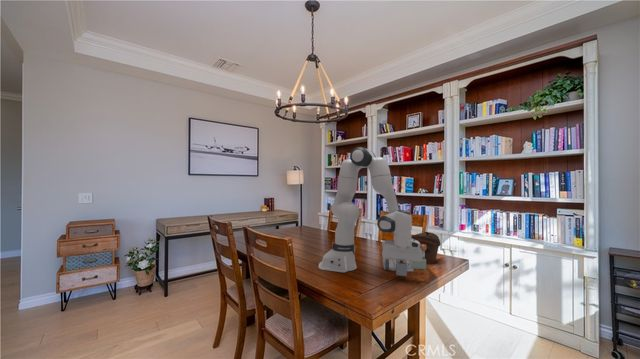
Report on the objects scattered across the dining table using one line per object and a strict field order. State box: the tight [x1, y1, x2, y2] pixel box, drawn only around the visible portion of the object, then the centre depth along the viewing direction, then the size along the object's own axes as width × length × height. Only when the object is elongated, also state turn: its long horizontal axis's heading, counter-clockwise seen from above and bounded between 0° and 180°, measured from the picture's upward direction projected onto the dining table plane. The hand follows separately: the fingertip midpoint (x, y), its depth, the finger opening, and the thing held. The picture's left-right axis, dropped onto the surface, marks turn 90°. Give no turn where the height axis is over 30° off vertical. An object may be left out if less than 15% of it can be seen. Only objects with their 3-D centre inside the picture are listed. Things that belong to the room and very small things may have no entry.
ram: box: [421, 244, 426, 260], centre depth 159 cm, size 8×3×10 cm, turn 81°
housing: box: [395, 259, 408, 277], centre depth 141 cm, size 5×8×8 cm, turn 167°
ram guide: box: [411, 259, 427, 270], centre depth 159 cm, size 8×6×5 cm
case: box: [411, 231, 442, 264], centre depth 173 cm, size 18×20×18 cm
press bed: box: [382, 257, 415, 272], centre depth 161 cm, size 16×16×6 cm
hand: (401, 267), depth 141 cm, fingers closed on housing, 5 cm apart
